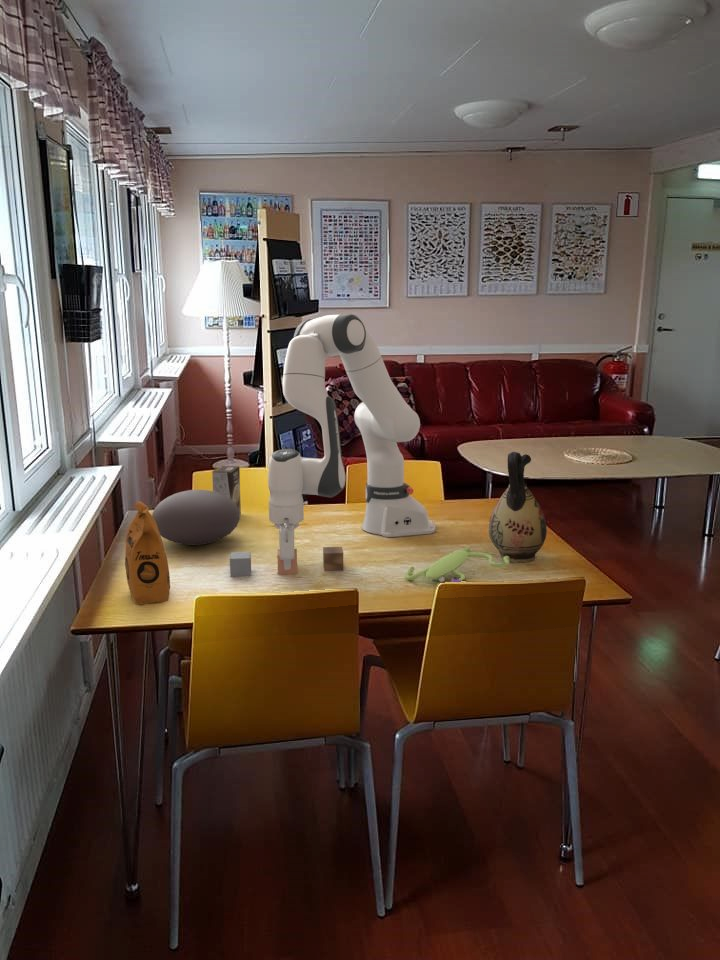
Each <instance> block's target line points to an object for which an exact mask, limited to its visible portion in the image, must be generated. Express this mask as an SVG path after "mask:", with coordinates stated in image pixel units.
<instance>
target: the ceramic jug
mask: <svg viewBox="0 0 720 960" xmlns="http://www.w3.org/2000/svg"><path fill="white" fill-rule="evenodd" d="M531 462H532V458H531V456H530V455H529V454H526V453H525V454H523V455H521V453H520V452H517V451H512V452H510V453H508V455H507V473H508V479H509V484H508V487H507V488H506V489H505V490H504V492H503V493H502V495H501V496H500V497H499V499H498V500H497V503H496V504H495V506H494V508H493V509H492V511H491V514H490V518H489V524H488V534H489V538H490V540H491V543H492V544H493V546H494V547H495V548H496V549H497V551H498V553H499V554H500V555H499V556H500V558H501V559H503V557H505V556H508V557H509V563H521V562H522V563H525V562H532V561H534V560H535V559H536V554H537V553H538V552H539V551H540V550H541V548H542V547H543V546H544V544H545V541H546V538H547V534H548V530H547V523H546V518H545V514H544V512H543V510H542V507H541V506H540V503H539V502H538V501H537V499H536V497H535V495H534V494H533V492H532V491H531V490H530V489H529V488H528V486H527V484H526V482H525V467H526V465H528V464H530V463H531Z"/></svg>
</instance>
